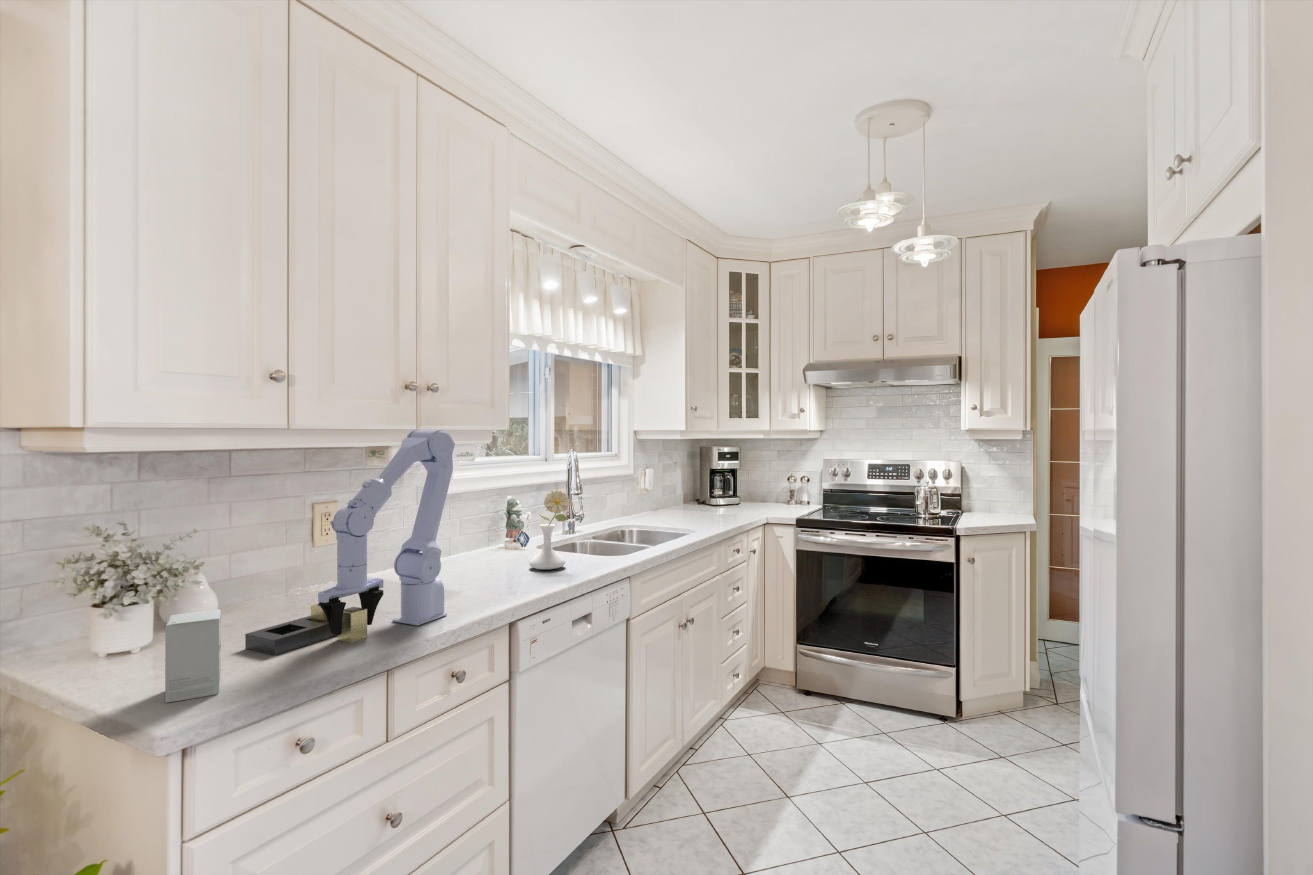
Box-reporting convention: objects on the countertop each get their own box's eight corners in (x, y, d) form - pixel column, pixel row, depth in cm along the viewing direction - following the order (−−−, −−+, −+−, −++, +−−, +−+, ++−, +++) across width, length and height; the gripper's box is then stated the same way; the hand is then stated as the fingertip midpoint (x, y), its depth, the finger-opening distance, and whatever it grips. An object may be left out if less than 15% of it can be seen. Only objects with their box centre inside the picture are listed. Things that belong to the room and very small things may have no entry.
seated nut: (327, 628, 144) (327, 599, 144) (339, 630, 142) (339, 601, 142) (310, 633, 140) (310, 604, 140) (323, 635, 138) (323, 606, 138)
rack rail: (333, 622, 148) (333, 609, 148) (361, 627, 144) (361, 614, 144) (245, 648, 130) (245, 633, 130) (274, 655, 126) (274, 640, 126)
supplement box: (219, 694, 107) (219, 618, 107) (163, 704, 104) (163, 625, 103) (222, 679, 114) (221, 607, 114) (169, 688, 110) (169, 613, 110)
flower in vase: (524, 571, 202) (524, 491, 201) (535, 564, 213) (535, 488, 213) (565, 572, 200) (565, 491, 200) (574, 565, 211) (574, 488, 211)
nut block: (353, 634, 139) (353, 605, 139) (367, 637, 138) (367, 607, 138) (337, 639, 136) (337, 609, 136) (351, 642, 134) (350, 612, 134)
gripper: (367, 556, 145) (367, 617, 145) (307, 569, 132) (307, 635, 132) (390, 559, 142) (390, 621, 142) (331, 572, 129) (331, 640, 129)
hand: (352, 628), depth 137 cm, fingers open, 7 cm apart
